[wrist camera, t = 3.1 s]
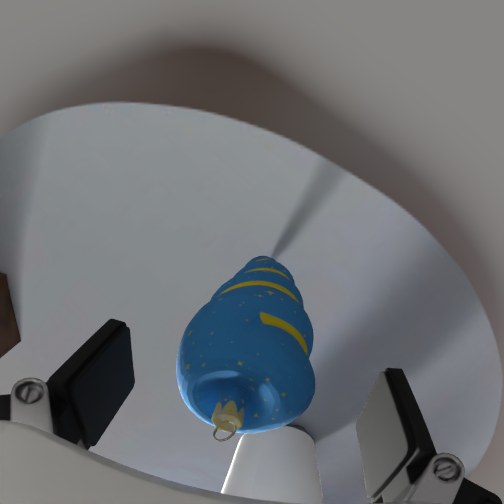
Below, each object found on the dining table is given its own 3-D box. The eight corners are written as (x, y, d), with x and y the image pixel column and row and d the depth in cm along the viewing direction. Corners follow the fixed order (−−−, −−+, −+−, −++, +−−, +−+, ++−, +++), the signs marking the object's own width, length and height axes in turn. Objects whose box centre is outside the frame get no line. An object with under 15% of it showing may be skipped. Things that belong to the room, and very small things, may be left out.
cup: (248, 467, 29) (231, 557, 17) (214, 417, 27) (181, 525, 15) (332, 455, 27) (336, 553, 15) (314, 401, 25) (317, 525, 13)
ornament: (316, 280, 21) (346, 463, 7) (252, 307, 23) (205, 488, 8) (284, 214, 20) (273, 344, 6) (218, 247, 22) (109, 394, 7)
